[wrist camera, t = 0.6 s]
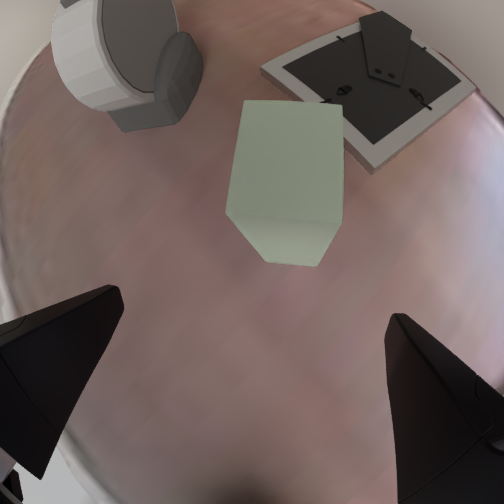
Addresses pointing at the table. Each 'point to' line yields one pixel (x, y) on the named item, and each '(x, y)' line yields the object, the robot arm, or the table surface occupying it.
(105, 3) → the alarm clock
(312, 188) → the pale green block
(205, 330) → the table surface
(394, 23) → the picture frame
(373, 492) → the table surface
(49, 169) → the table surface
